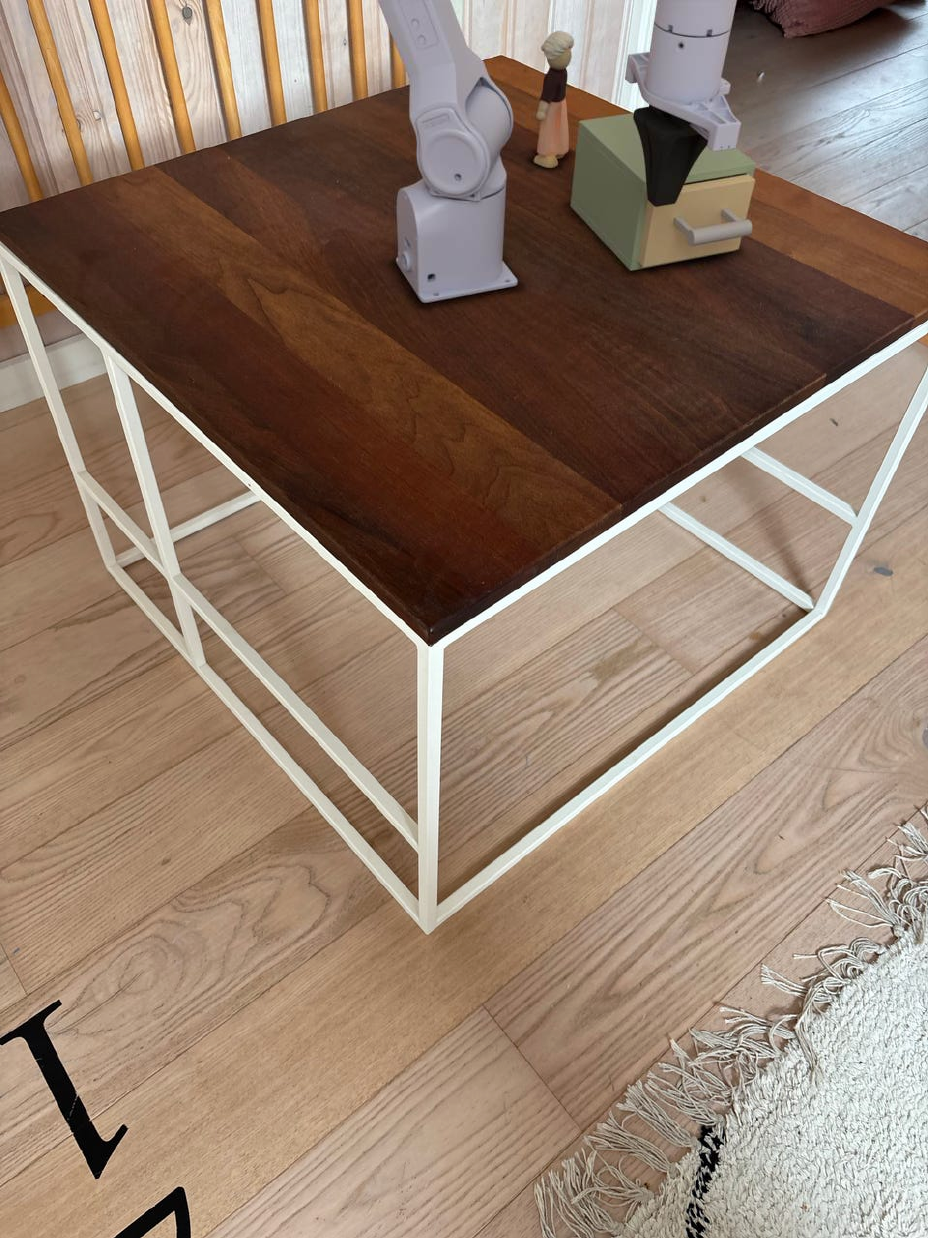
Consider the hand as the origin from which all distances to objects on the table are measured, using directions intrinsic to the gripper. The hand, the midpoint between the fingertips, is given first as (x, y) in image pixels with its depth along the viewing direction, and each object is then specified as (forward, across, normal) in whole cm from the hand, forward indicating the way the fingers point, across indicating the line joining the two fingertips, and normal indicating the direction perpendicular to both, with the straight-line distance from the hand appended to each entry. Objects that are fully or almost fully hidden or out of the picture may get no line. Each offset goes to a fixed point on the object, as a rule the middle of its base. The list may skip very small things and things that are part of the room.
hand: (661, 201), depth 84 cm
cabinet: (+9, +12, -7) cm, 17 cm away
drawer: (+8, +8, -7) cm, 14 cm away
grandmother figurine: (+10, +30, -4) cm, 32 cm away
